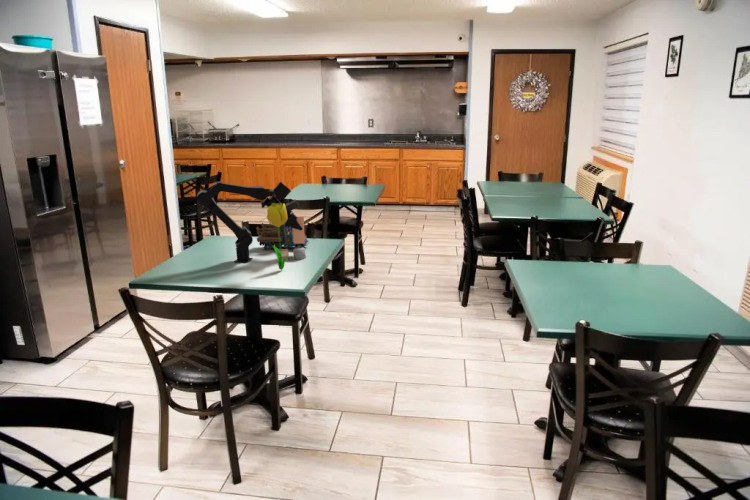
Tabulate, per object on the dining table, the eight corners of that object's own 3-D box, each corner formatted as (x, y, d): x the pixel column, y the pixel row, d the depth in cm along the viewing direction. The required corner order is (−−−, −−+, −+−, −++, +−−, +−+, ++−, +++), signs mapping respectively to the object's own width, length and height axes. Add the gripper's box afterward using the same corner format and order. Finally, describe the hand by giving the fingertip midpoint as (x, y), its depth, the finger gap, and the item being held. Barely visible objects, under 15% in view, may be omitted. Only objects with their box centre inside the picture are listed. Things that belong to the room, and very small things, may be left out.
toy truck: (306, 251, 264) (304, 221, 260) (257, 251, 265) (254, 221, 261) (310, 245, 274) (308, 216, 270) (262, 245, 276) (260, 217, 271)
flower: (293, 268, 236) (288, 201, 228) (288, 273, 228) (284, 205, 220) (274, 267, 237) (269, 201, 229) (269, 273, 229) (263, 205, 221)
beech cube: (287, 260, 248) (287, 251, 247) (278, 261, 248) (277, 251, 247) (288, 258, 252) (288, 248, 251) (279, 258, 252) (278, 249, 251)
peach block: (294, 243, 252) (293, 216, 249) (292, 241, 257) (291, 215, 253) (304, 243, 253) (303, 216, 250) (303, 240, 258) (302, 214, 255)
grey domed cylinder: (303, 260, 248) (302, 250, 247) (292, 259, 249) (291, 250, 248) (307, 256, 253) (306, 247, 252) (296, 256, 255) (295, 247, 253)
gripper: (291, 197, 239) (316, 220, 245) (285, 191, 256) (308, 212, 263) (274, 215, 239) (299, 237, 245) (269, 208, 256) (293, 229, 262)
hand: (301, 228), depth 254 cm, fingers closed on peach block, 5 cm apart
